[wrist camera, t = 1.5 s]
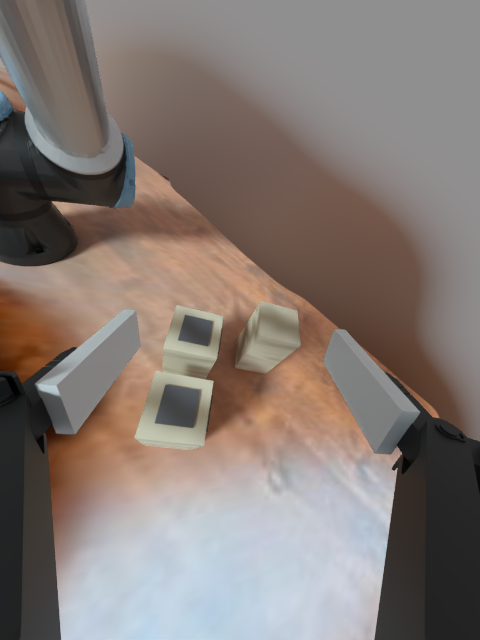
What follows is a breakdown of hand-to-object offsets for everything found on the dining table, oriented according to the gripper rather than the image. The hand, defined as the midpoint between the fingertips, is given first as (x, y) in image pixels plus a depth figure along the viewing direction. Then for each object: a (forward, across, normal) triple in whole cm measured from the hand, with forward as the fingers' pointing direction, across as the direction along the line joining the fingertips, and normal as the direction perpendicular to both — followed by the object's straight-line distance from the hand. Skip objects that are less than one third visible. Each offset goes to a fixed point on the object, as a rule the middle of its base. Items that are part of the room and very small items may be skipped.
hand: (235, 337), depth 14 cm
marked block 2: (+11, -8, -24) cm, 28 cm away
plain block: (+25, +5, -20) cm, 33 cm away
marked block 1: (+20, -8, -20) cm, 29 cm away
